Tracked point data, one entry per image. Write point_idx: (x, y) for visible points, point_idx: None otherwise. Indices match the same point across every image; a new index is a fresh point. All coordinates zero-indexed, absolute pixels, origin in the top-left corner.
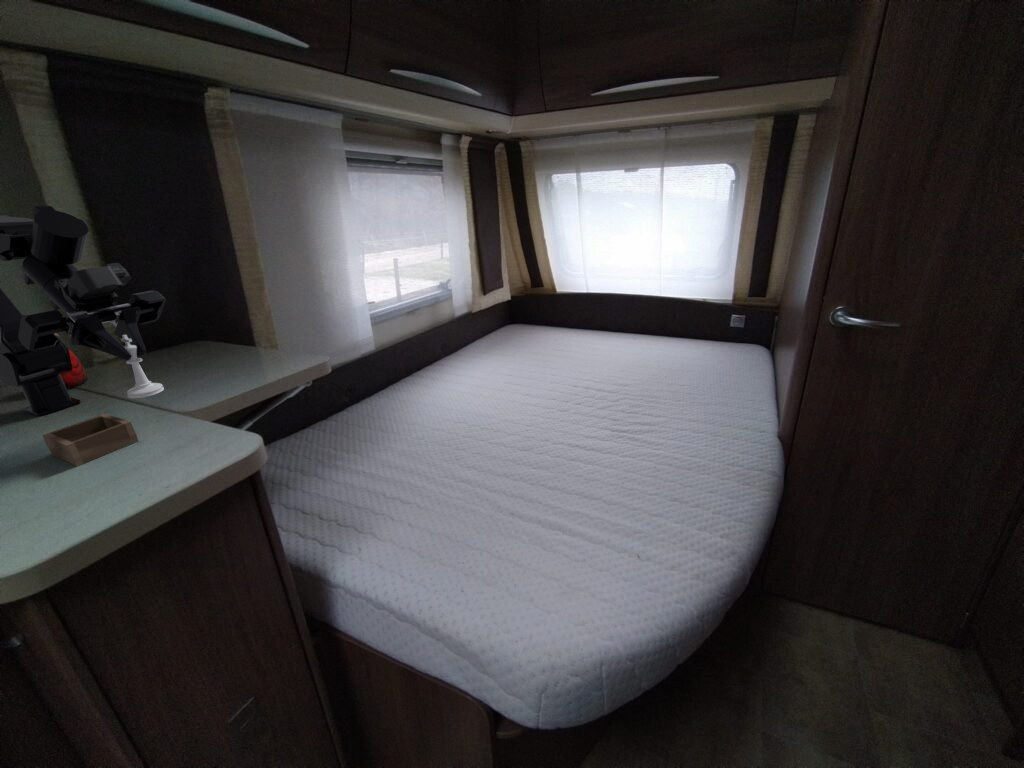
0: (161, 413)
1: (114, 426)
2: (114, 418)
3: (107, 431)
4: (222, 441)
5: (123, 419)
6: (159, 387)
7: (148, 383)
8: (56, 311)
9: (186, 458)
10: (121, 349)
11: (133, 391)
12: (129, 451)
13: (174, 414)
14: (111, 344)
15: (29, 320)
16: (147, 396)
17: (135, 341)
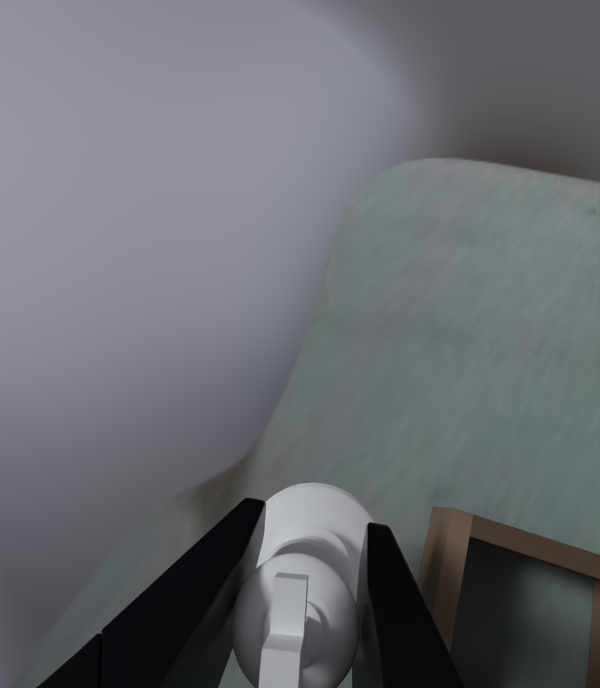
0: None
1: (500, 540)
2: (442, 625)
3: (534, 534)
4: (387, 246)
5: (442, 565)
6: (293, 490)
7: (311, 526)
8: None
9: (482, 268)
10: (406, 584)
11: None
12: (493, 471)
13: None
14: (460, 685)
15: None
16: (359, 500)
17: (224, 597)
